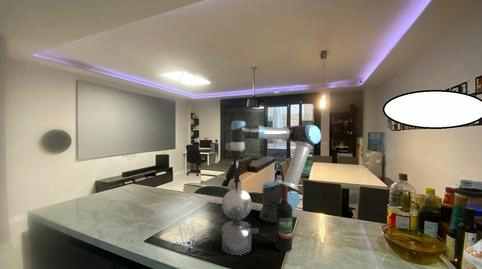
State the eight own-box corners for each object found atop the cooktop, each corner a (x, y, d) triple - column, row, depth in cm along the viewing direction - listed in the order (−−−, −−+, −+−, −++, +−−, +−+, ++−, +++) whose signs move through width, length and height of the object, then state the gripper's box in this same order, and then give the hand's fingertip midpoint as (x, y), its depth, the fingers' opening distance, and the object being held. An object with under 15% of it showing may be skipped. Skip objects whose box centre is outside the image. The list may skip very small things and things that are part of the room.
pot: (216, 239, 108) (216, 220, 108) (257, 240, 109) (257, 220, 109) (212, 255, 94) (213, 233, 94) (260, 255, 95) (260, 233, 95)
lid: (221, 221, 109) (222, 219, 111) (251, 221, 109) (251, 220, 111) (222, 189, 110) (222, 188, 112) (251, 189, 110) (251, 188, 112)
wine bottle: (289, 243, 106) (290, 183, 106) (293, 251, 98) (294, 187, 98) (274, 243, 105) (275, 183, 105) (277, 251, 98) (278, 187, 98)
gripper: (231, 148, 118) (230, 190, 118) (230, 150, 105) (228, 197, 105) (244, 149, 118) (243, 190, 118) (245, 151, 105) (243, 198, 105)
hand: (236, 194), depth 112 cm, fingers closed
